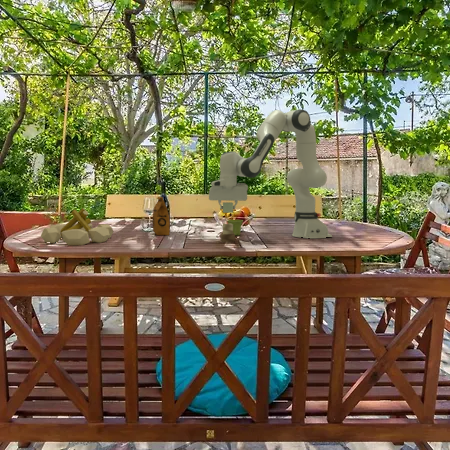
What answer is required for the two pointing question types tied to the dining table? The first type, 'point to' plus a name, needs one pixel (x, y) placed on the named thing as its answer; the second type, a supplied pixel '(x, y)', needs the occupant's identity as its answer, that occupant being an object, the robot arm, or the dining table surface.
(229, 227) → the birch cube
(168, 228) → the coffee package
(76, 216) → the campfire
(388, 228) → the dining table surface
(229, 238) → the brown square block
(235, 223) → the plant pot
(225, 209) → the green cube
